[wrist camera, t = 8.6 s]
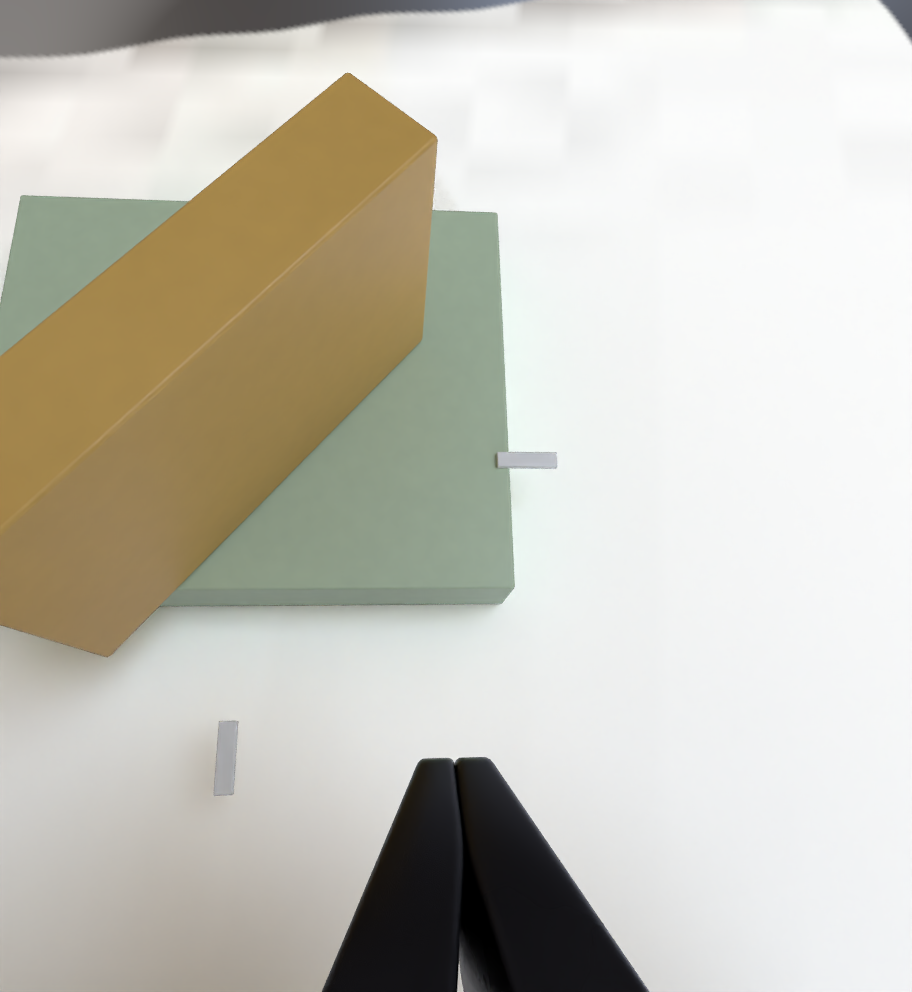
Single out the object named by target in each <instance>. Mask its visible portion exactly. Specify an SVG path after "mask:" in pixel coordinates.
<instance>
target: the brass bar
mask: <svg viewBox="0 0 912 992" xmlns="http://www.w3.org/2000/svg"><path fill="white" fill-rule="evenodd" d="M437 142H438V140H437V137H436V136H435V135H434V134H433V133H431V132H430V131H429V130H427V129H426V128H424V127H423V126H422V125H420V124H419V123H418V122H416V121H415V120H413V119H412V118H411V117H409V116H408V115H407V114H405V113H404V112H403V111H401V110H400V109H398V108H397V107H396V106H394V105H393V104H392V103H390V102H389V101H387V100H386V99H385V98H383V97H382V96H381V95H379V94H378V93H376V92H375V91H374V90H372V89H371V88H370V87H368V86H367V85H366V84H364V83H363V82H361V81H360V80H359V79H357V78H356V77H355V76H353V75H352V74H350V73H345V74H344V75H343V76H342V77H340V78H339V79H338V80H337V81H336V82H334V83H333V84H332V85H331V86H329V87H328V88H327V89H326V90H325V91H323V92H322V93H321V94H320V95H318V96H317V97H316V98H315V99H314V100H312V101H311V102H310V103H309V104H307V105H306V106H305V107H304V108H303V109H301V110H300V111H299V112H298V113H297V114H295V115H294V116H293V117H292V118H290V119H289V120H288V121H287V122H286V123H284V124H283V125H282V126H281V127H279V128H278V129H277V130H276V131H275V132H273V133H272V134H271V135H270V136H268V137H267V138H266V139H265V140H264V141H262V142H261V143H260V144H259V145H257V146H256V147H255V148H254V149H253V150H251V151H250V152H249V153H248V154H246V155H245V156H244V157H243V158H242V159H240V160H239V161H238V162H237V163H235V164H234V165H233V166H232V167H231V168H229V169H228V170H227V171H226V172H224V173H223V174H222V175H221V176H220V177H218V178H217V179H216V180H215V181H213V182H212V183H211V184H210V185H209V186H207V187H206V188H205V189H204V190H202V191H201V192H200V193H199V194H198V195H196V196H195V197H194V198H193V199H191V200H190V201H189V202H188V203H187V204H185V205H184V206H183V207H182V208H180V209H179V210H178V211H177V212H176V213H174V214H173V215H172V216H171V217H169V218H168V219H167V220H166V221H165V222H163V223H162V224H161V225H160V226H158V227H157V228H156V229H155V230H154V231H152V232H151V233H150V234H149V235H147V236H146V237H145V238H144V239H143V240H141V241H140V242H139V243H138V244H136V245H135V246H134V247H133V248H132V249H130V250H129V251H128V252H127V253H125V254H124V255H123V256H122V257H121V258H119V259H118V260H117V261H116V262H114V263H113V264H112V265H111V266H110V267H108V268H107V269H106V270H105V271H103V272H102V273H101V274H100V275H99V276H97V277H96V278H95V279H94V280H92V281H91V282H90V283H89V284H88V285H86V286H85V287H84V288H83V289H82V290H80V291H79V292H78V293H77V294H75V295H74V296H73V297H72V298H71V299H69V300H68V301H67V302H66V303H64V304H63V305H62V306H61V307H60V308H58V309H57V310H56V311H55V312H53V313H52V314H51V315H50V316H49V317H47V318H46V319H45V320H44V321H42V322H41V323H40V324H39V325H38V326H36V327H35V328H34V329H33V330H31V331H30V332H29V333H28V334H27V335H25V336H24V337H23V338H22V339H20V340H19V341H18V342H17V343H16V344H14V345H13V346H12V347H11V348H9V349H8V350H7V351H6V352H5V353H3V354H2V355H1V356H0V625H1V626H5V627H8V628H11V629H15V630H18V631H21V632H25V633H28V634H31V635H35V636H38V637H41V638H45V639H48V640H51V641H55V642H58V643H61V644H65V645H68V646H71V647H75V648H78V649H81V650H84V651H88V652H91V653H94V654H98V655H101V656H104V657H109V656H111V655H112V654H113V653H114V652H115V651H116V650H117V649H118V648H119V647H120V646H121V644H122V643H123V642H124V641H125V640H126V639H127V638H128V637H129V636H130V635H131V634H132V633H133V632H134V631H135V630H136V629H137V628H138V627H139V626H140V625H141V624H142V623H143V622H144V621H145V620H146V619H147V618H148V617H149V616H150V615H151V614H152V613H153V612H154V611H155V610H156V609H157V608H158V607H159V606H160V605H161V604H162V603H163V602H164V601H165V600H166V599H167V598H168V597H169V596H170V595H171V594H172V593H173V592H174V591H175V590H176V589H177V588H178V587H179V586H180V585H181V584H182V583H183V582H184V581H185V580H186V579H187V578H188V577H189V576H190V575H191V574H192V573H193V571H194V570H195V569H196V568H197V567H198V566H199V565H200V564H201V563H202V562H203V561H204V560H205V559H206V558H207V557H208V556H209V555H210V554H211V553H212V552H213V551H214V550H215V549H216V548H217V547H218V546H219V545H220V544H221V543H222V542H223V541H224V540H225V539H226V538H227V537H228V536H229V535H230V534H231V533H232V532H233V531H234V530H235V529H236V528H237V527H238V526H239V525H240V524H241V523H242V522H243V521H244V520H245V519H246V518H247V517H248V516H249V515H250V514H251V513H252V512H253V511H254V510H255V509H256V508H257V507H258V506H259V505H260V504H261V503H262V502H263V501H264V500H265V499H266V497H267V496H268V495H269V494H270V493H271V492H272V491H273V490H274V489H275V488H276V487H277V486H278V485H279V484H280V483H281V482H282V481H283V480H284V479H285V478H286V477H287V476H288V475H289V474H290V473H291V472H292V471H293V470H294V469H295V468H296V467H297V466H298V465H299V464H300V463H301V462H302V461H303V460H304V459H305V458H306V457H307V456H308V455H309V454H310V453H311V452H312V451H313V450H314V449H315V448H316V447H317V446H318V445H319V444H320V443H321V442H322V441H323V440H324V439H325V438H326V437H327V436H328V435H329V434H330V433H331V432H332V431H333V430H334V429H335V428H336V427H337V426H338V425H339V423H340V422H341V421H342V420H343V419H344V418H345V417H346V416H347V415H348V414H349V413H350V412H351V411H352V410H353V409H354V408H355V407H356V406H357V405H358V404H359V403H360V402H361V401H362V400H363V399H364V398H365V397H366V396H367V395H368V394H369V393H370V392H371V391H372V390H373V389H374V388H375V387H376V386H377V385H378V384H379V383H380V382H381V381H382V380H383V379H384V378H385V377H386V376H387V375H388V374H389V373H390V372H391V371H392V370H393V369H394V368H395V367H396V366H397V365H398V364H399V363H400V362H401V361H402V360H403V359H404V358H405V357H406V356H407V355H408V354H409V353H410V352H411V350H412V349H413V348H414V347H415V346H416V345H417V344H418V343H419V342H420V341H421V340H422V338H423V325H424V312H425V299H426V286H427V273H428V260H429V246H430V233H431V220H432V207H433V194H434V181H435V168H436V155H437Z"/></svg>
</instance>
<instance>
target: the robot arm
mask: <svg viewBox="0 0 912 992" xmlns="http://www.w3.org/2000/svg"><path fill="white" fill-rule="evenodd" d="M459 963H460V971H461V978H462V985H463V991H464V992H649V990H648V989H647V987H646V986H645V985H644V983H643V982H642V980H641V979H640V977H639V976H638V974H637V973H636V971H635V970H634V968H633V967H632V965H631V964H630V963H629V961H628V960H627V958H626V957H625V955H624V954H623V952H622V951H621V949H620V948H619V946H618V945H617V944H616V942H615V941H614V939H613V938H612V936H611V935H610V933H609V932H608V930H607V929H606V927H605V926H604V924H603V923H602V922H601V920H600V919H599V917H598V916H597V914H596V913H595V911H594V910H593V908H592V907H591V905H590V904H589V902H588V901H587V900H586V898H585V897H584V895H583V894H582V892H581V891H580V889H579V888H578V886H577V885H576V883H575V882H574V881H573V879H572V878H571V876H570V875H569V873H568V872H567V870H566V869H565V867H564V866H563V864H562V863H561V861H560V860H559V859H558V857H557V856H556V854H555V853H554V851H553V850H552V848H551V847H550V845H549V844H548V842H547V841H546V840H545V838H544V837H543V835H542V834H541V832H540V831H539V829H538V828H537V826H536V825H535V823H534V822H533V820H532V819H531V818H530V816H529V815H528V813H527V812H526V810H525V809H524V807H523V806H522V804H521V803H520V801H519V800H518V799H517V797H516V796H515V794H514V793H513V791H512V790H511V788H510V787H509V785H508V784H507V782H506V781H505V779H504V778H503V777H502V775H501V774H500V772H499V771H498V769H497V768H496V766H495V765H494V763H493V762H492V761H491V760H490V759H488V758H487V757H469V758H459V759H457V760H456V762H455V764H454V762H453V760H452V759H450V758H428V759H422V760H420V761H419V762H418V764H417V766H416V768H415V771H414V773H413V776H412V778H411V780H410V783H409V785H408V787H407V790H406V792H405V795H404V797H403V799H402V802H401V804H400V807H399V809H398V811H397V814H396V816H395V818H394V821H393V823H392V826H391V828H390V830H389V833H388V835H387V838H386V840H385V842H384V845H383V847H382V849H381V852H380V854H379V857H378V859H377V861H376V864H375V866H374V868H373V871H372V873H371V876H370V878H369V880H368V883H367V885H366V888H365V890H364V892H363V895H362V897H361V899H360V902H359V904H358V907H357V909H356V911H355V914H354V916H353V919H352V921H351V923H350V926H349V928H348V930H347V933H346V935H345V938H344V940H343V942H342V945H341V947H340V949H339V952H338V954H337V957H336V959H335V961H334V964H333V966H332V969H331V971H330V973H329V976H328V978H327V980H326V983H325V985H324V988H323V990H322V992H457V982H458V965H459Z"/></svg>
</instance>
